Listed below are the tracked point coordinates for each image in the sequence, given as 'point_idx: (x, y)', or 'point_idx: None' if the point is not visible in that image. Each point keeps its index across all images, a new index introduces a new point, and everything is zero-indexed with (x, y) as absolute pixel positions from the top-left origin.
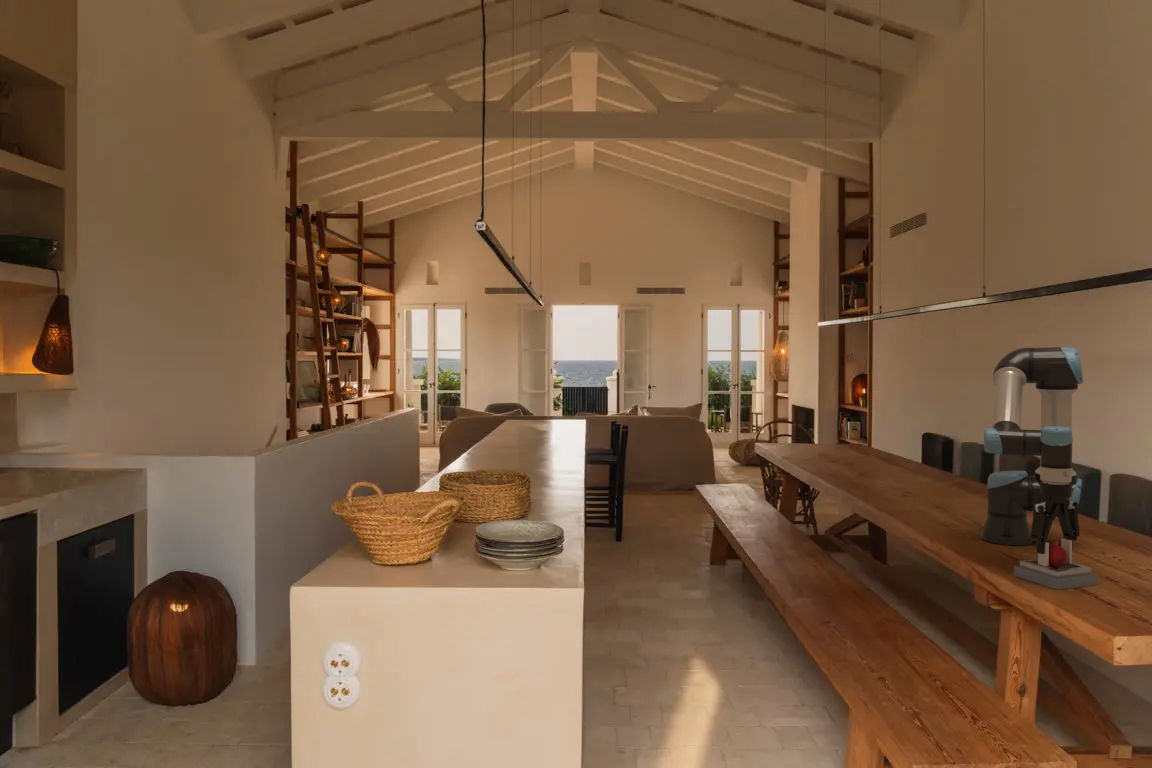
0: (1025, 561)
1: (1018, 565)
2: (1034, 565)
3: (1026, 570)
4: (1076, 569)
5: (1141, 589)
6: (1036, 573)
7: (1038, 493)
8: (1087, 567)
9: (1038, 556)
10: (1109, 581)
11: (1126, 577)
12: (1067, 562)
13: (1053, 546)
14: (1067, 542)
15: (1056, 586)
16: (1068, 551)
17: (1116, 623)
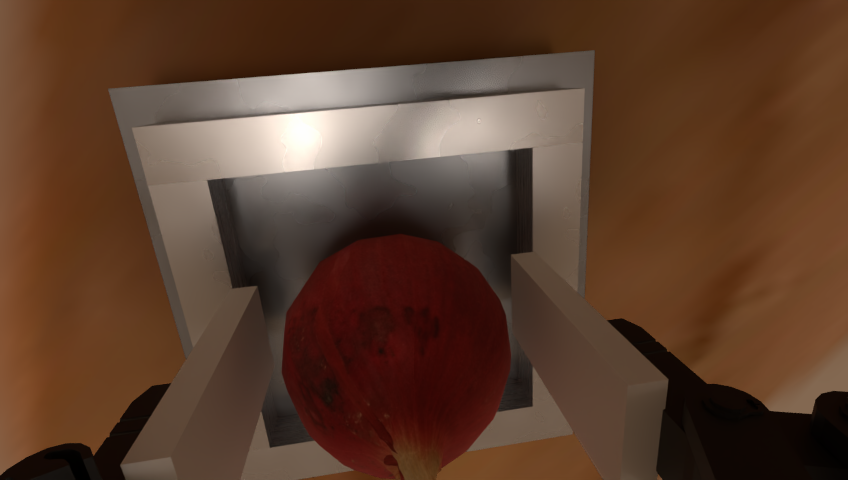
0: (176, 167)
1: (152, 103)
2: (181, 298)
3: (155, 228)
4: None
5: None
6: (180, 324)
7: None
8: (556, 423)
9: (208, 330)
10: (671, 338)
11: (827, 293)
12: (514, 315)
13: (356, 453)
14: (601, 445)
15: None
16: (553, 383)
17: None
